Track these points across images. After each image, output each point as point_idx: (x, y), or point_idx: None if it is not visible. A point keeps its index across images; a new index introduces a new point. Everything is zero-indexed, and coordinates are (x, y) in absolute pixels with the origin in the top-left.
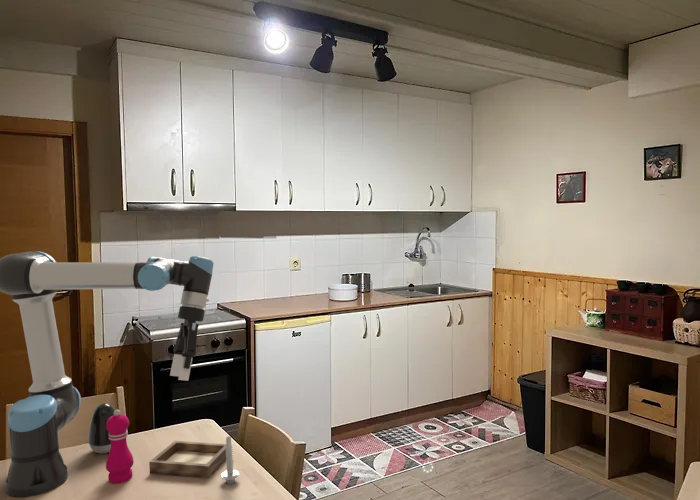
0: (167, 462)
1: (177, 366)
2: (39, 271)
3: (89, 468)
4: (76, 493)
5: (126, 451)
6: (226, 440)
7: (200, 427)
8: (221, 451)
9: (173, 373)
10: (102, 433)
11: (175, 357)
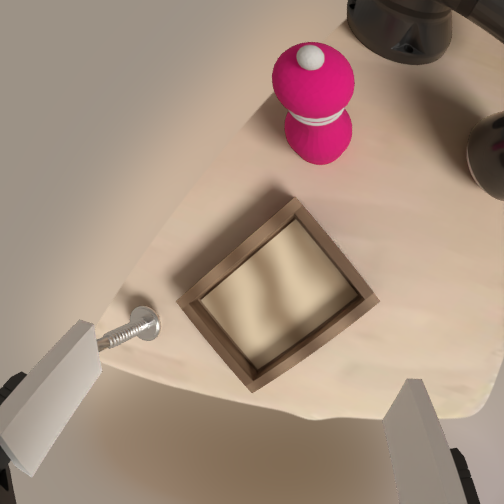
0: (259, 233)
1: (407, 457)
2: None
3: (415, 103)
4: None
5: (297, 130)
6: (98, 339)
7: (454, 392)
8: (228, 361)
9: (403, 404)
10: (484, 130)
11: (437, 498)
